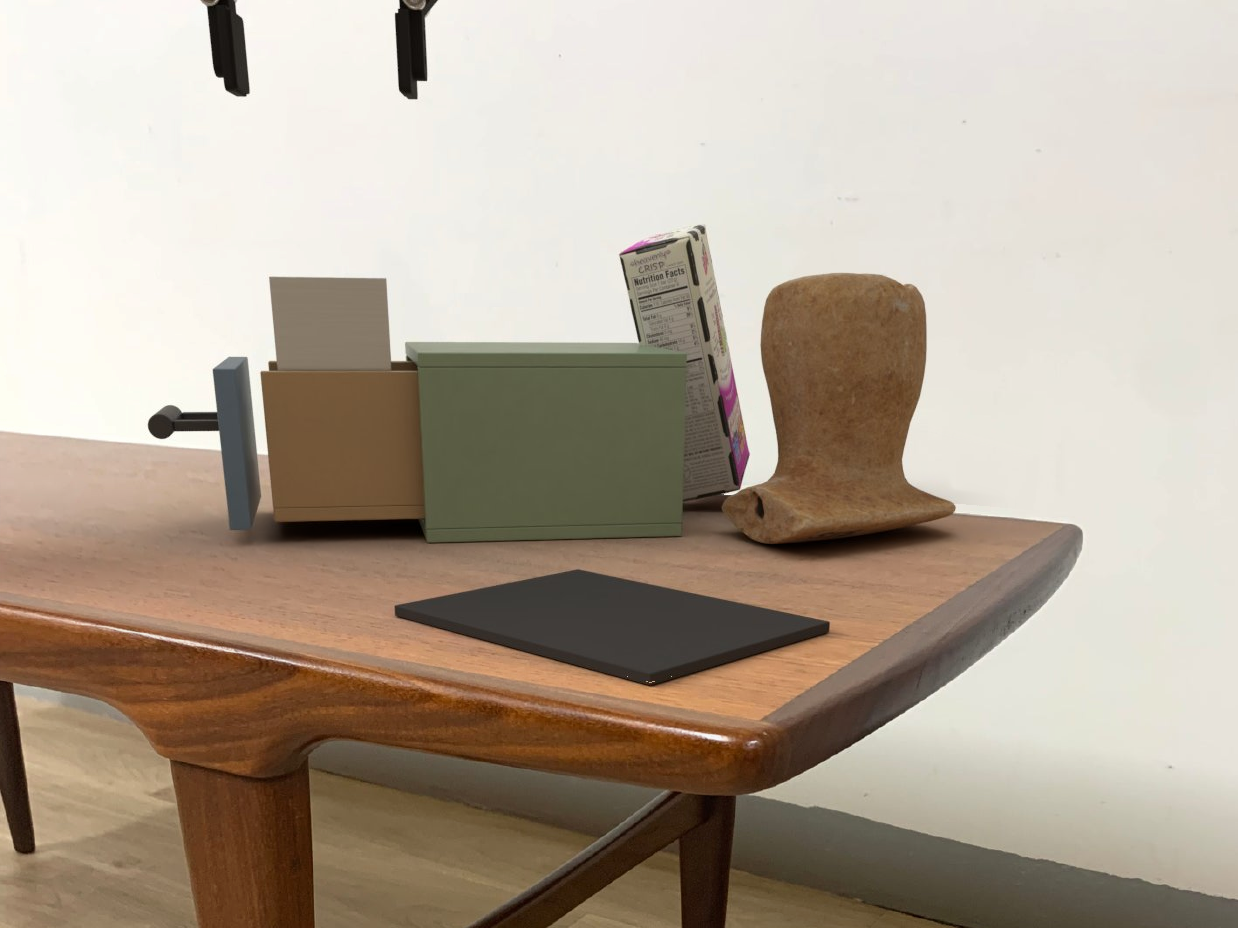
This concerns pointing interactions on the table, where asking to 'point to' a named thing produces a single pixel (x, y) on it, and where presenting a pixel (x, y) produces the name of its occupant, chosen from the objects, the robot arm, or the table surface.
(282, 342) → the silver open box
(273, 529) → the table surface
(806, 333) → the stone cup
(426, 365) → the cabinet
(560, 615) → the desk pad
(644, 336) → the candy bar box
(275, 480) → the drawer
